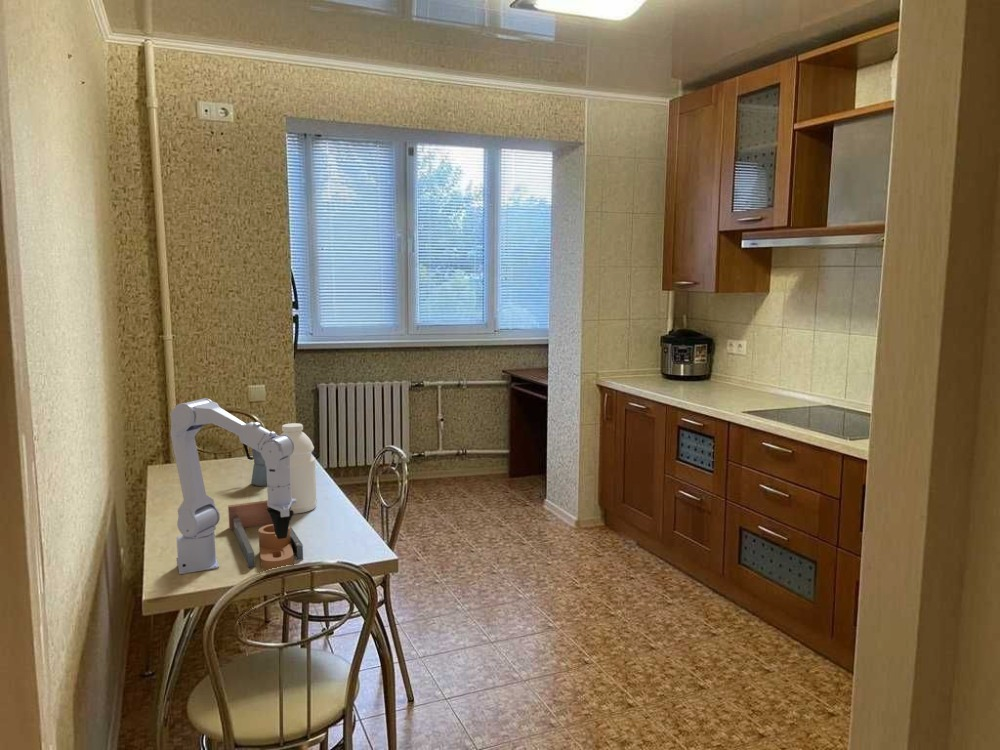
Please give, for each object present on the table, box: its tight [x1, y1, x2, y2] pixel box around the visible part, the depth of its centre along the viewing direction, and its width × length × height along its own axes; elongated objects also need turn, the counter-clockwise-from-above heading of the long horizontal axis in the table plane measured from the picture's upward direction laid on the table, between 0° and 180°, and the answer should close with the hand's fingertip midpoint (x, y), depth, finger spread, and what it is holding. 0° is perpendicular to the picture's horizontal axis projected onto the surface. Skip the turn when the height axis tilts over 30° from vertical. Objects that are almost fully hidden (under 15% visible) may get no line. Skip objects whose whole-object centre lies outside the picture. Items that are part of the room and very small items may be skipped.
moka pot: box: [242, 443, 267, 487], centre depth 272 cm, size 10×15×20 cm, turn 81°
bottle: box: [281, 422, 318, 515], centre depth 241 cm, size 14×14×28 cm
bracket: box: [258, 524, 295, 571], centre depth 199 cm, size 18×8×7 cm, turn 20°
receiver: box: [227, 499, 304, 569], centre depth 211 cm, size 16×36×7 cm, turn 26°
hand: (281, 536), depth 185 cm, fingers closed
